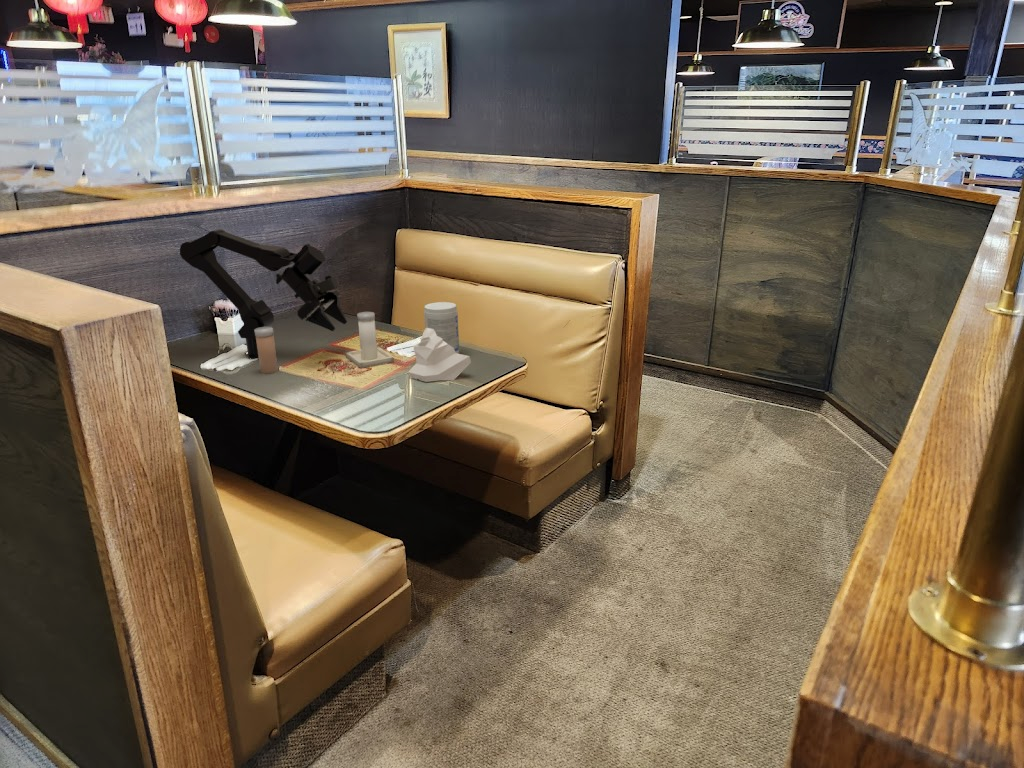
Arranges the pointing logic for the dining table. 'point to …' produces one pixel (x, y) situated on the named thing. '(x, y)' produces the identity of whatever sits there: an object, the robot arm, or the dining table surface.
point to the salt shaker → (367, 335)
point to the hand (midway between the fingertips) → (340, 326)
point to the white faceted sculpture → (436, 359)
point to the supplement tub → (443, 322)
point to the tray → (356, 359)
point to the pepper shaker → (266, 349)
